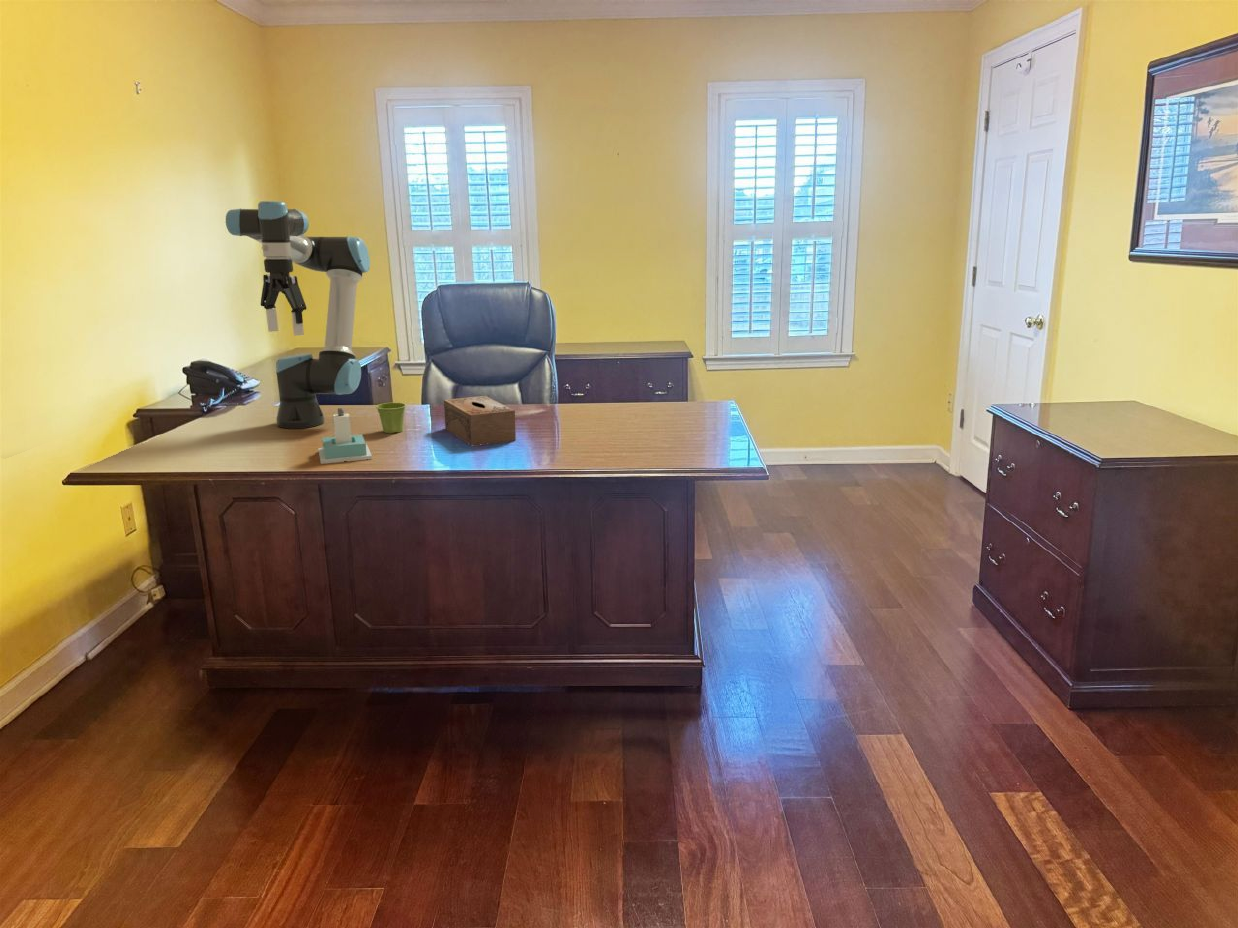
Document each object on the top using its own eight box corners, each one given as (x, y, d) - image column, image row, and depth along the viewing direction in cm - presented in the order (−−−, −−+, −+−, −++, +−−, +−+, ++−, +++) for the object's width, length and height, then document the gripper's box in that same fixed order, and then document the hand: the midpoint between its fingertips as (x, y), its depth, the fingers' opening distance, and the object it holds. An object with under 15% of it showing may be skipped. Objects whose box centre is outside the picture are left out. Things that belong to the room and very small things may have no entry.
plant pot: (399, 435, 266) (398, 409, 264) (372, 434, 268) (370, 407, 265) (412, 428, 275) (410, 403, 272) (386, 427, 277) (384, 401, 274)
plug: (337, 454, 240) (332, 410, 237) (336, 450, 244) (332, 407, 241) (352, 453, 242) (348, 409, 238) (351, 449, 246) (347, 406, 242)
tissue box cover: (515, 441, 261) (514, 410, 258) (472, 447, 254) (470, 415, 251) (486, 424, 282) (485, 395, 279) (445, 429, 275) (443, 399, 272)
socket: (320, 463, 234) (319, 448, 233) (318, 451, 247) (317, 437, 246) (372, 459, 240) (370, 444, 238) (367, 447, 252) (365, 432, 251)
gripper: (242, 257, 240) (251, 330, 246) (289, 259, 225) (298, 338, 231) (266, 256, 245) (274, 328, 251) (314, 259, 231) (321, 335, 237)
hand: (286, 333), depth 241 cm, fingers open, 13 cm apart
